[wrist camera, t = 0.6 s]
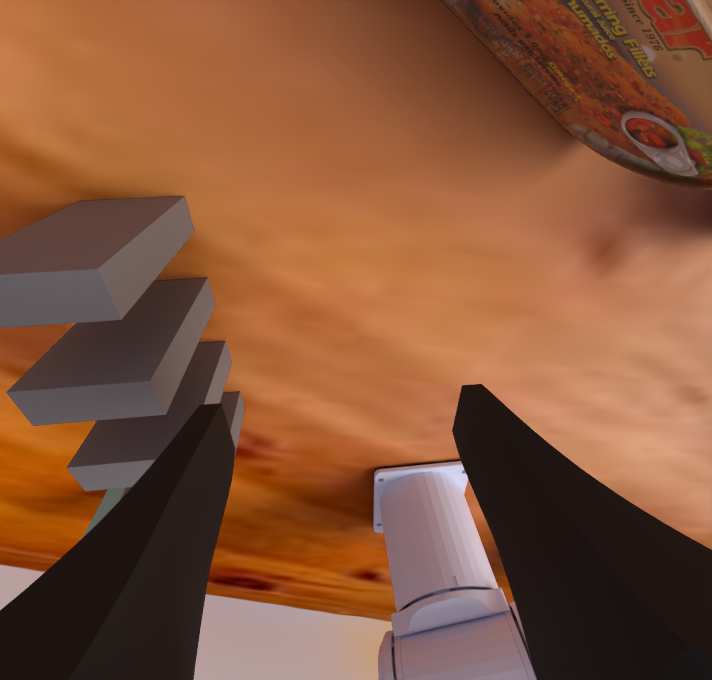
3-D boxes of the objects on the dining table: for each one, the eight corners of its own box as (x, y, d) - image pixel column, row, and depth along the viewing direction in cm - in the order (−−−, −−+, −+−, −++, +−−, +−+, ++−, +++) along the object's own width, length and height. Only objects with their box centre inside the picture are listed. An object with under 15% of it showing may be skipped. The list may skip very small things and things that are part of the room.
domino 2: (215, 304, 19) (165, 414, 13) (129, 310, 19) (32, 425, 12) (207, 277, 18) (150, 380, 12) (116, 283, 18) (6, 392, 12)
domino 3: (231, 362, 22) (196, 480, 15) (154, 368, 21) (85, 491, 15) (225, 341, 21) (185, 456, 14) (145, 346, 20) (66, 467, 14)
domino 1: (194, 231, 17) (121, 319, 10) (95, 236, 17) (-43, 330, 10) (184, 195, 16) (97, 269, 10) (79, 200, 16) (-85, 279, 9)
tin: (348, -97, 12) (398, -366, 5) (407, -233, 10) (599, -883, 3) (605, 174, 17) (795, 230, 11) (665, 111, 16) (927, 127, 9)
